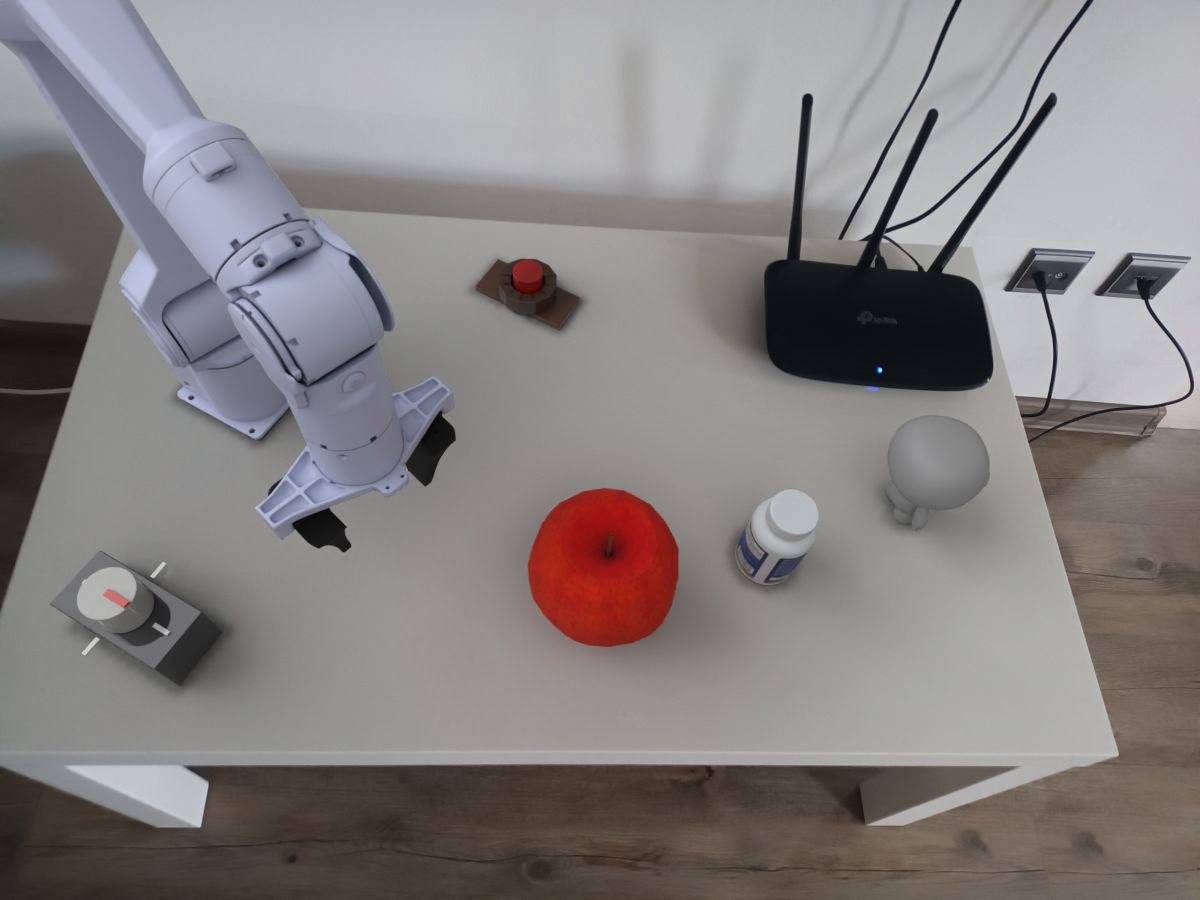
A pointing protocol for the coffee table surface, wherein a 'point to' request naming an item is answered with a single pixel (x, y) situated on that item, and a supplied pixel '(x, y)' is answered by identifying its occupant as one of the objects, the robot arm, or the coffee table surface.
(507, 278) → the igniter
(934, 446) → the figurine
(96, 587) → the hob knob
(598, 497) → the apple
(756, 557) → the pill bottle
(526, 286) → the button
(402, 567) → the coffee table surface
